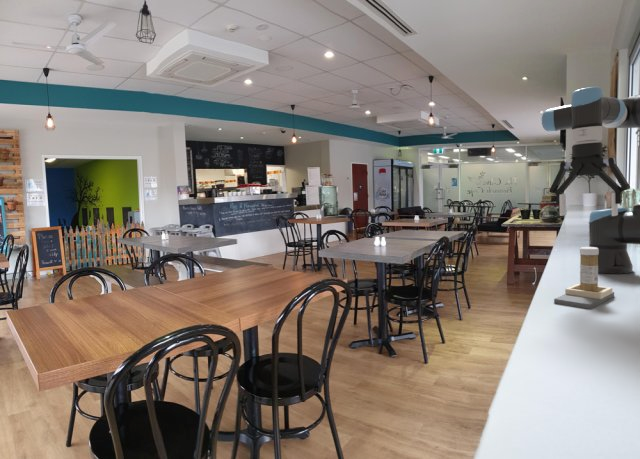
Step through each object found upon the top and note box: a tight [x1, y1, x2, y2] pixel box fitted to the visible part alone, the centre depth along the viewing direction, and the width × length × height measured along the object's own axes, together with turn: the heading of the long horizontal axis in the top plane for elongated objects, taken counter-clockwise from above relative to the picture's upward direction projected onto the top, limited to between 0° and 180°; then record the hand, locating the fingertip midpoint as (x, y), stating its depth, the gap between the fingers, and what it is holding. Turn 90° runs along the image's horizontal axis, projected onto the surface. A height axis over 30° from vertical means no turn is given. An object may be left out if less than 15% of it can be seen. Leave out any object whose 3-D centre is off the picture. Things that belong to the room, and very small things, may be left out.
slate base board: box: [553, 283, 615, 310], centre depth 119 cm, size 18×9×3 cm, turn 128°
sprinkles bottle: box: [579, 246, 599, 292], centre depth 120 cm, size 5×5×14 cm
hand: (587, 215), depth 124 cm, fingers open, 13 cm apart
